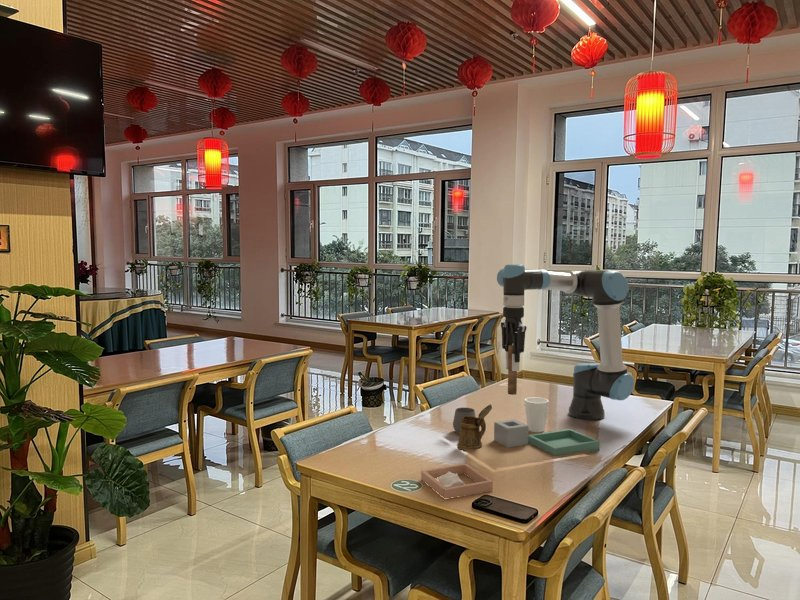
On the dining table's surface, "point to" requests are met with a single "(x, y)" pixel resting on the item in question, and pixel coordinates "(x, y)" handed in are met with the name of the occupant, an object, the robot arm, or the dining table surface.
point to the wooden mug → (472, 430)
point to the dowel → (511, 374)
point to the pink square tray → (479, 487)
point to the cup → (458, 417)
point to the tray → (564, 442)
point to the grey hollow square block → (511, 433)
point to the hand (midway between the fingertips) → (512, 369)
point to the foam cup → (536, 413)
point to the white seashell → (450, 480)
